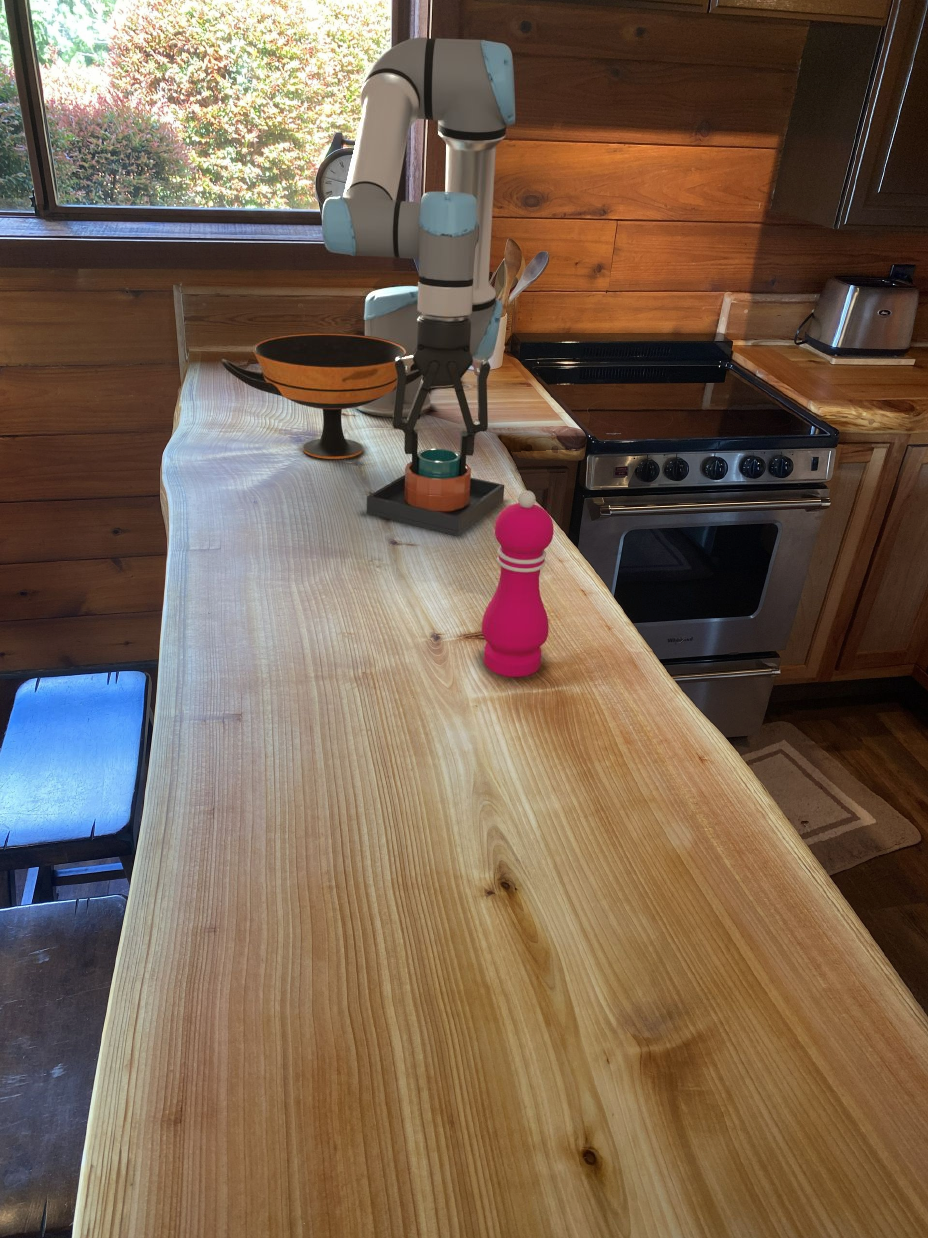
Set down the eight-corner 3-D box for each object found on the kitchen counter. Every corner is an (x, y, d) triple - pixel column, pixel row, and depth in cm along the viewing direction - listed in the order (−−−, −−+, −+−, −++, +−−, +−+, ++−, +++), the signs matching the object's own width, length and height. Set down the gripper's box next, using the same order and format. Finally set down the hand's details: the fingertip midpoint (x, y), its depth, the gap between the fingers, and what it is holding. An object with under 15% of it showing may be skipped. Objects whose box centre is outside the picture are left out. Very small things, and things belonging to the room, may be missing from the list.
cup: (241, 482, 143) (233, 370, 134) (218, 434, 163) (210, 335, 155) (453, 465, 155) (458, 362, 147) (407, 423, 176) (409, 330, 167)
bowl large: (423, 486, 143) (425, 453, 140) (479, 499, 140) (481, 465, 137) (393, 506, 135) (393, 471, 133) (451, 519, 132) (453, 484, 129)
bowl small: (428, 473, 140) (429, 445, 138) (465, 482, 137) (467, 453, 135) (408, 485, 135) (409, 456, 132) (447, 494, 132) (448, 465, 130)
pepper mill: (499, 686, 95) (514, 508, 85) (467, 653, 100) (478, 483, 91) (557, 672, 98) (578, 499, 88) (523, 640, 103) (539, 475, 94)
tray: (418, 482, 147) (418, 466, 146) (503, 501, 142) (504, 484, 140) (366, 514, 134) (366, 496, 133) (457, 536, 129) (458, 518, 127)
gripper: (511, 313, 128) (499, 468, 139) (374, 307, 127) (373, 464, 138) (517, 323, 122) (505, 485, 133) (373, 317, 120) (372, 481, 131)
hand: (438, 474), depth 135 cm, fingers closed on bowl small, 6 cm apart
